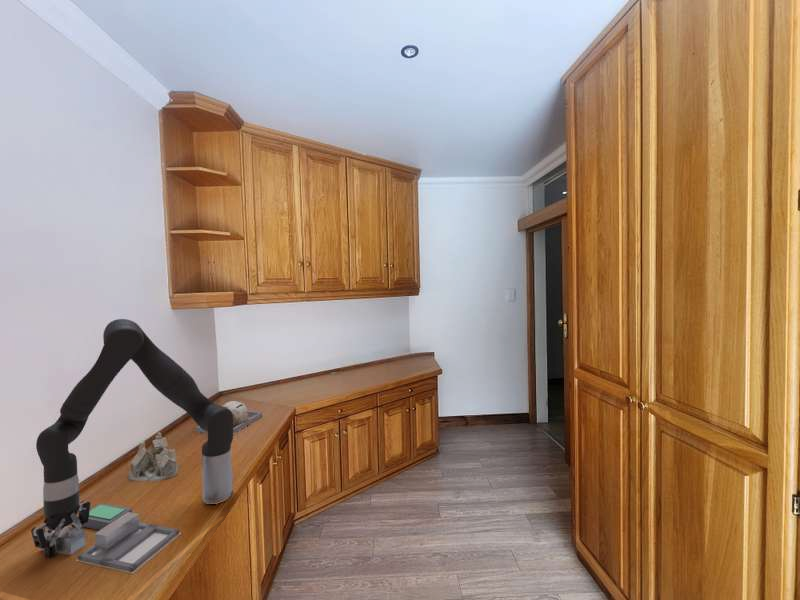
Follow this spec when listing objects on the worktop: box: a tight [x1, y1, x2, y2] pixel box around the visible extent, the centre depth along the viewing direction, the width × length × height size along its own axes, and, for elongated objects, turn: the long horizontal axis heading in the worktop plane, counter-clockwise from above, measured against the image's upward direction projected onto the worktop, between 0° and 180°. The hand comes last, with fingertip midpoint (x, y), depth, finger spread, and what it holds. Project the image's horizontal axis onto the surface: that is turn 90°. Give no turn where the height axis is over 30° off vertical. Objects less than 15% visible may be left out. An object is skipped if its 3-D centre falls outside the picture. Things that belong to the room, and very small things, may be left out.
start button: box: [89, 504, 125, 521], centre depth 118 cm, size 5×10×2 cm, turn 77°
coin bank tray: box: [195, 410, 263, 434], centre depth 201 cm, size 27×20×2 cm
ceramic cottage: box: [127, 432, 179, 482], centre depth 149 cm, size 16×16×15 cm
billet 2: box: [94, 512, 140, 557], centre depth 108 cm, size 10×4×6 cm, turn 167°
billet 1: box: [41, 526, 86, 556], centre depth 106 cm, size 4×10×6 cm, turn 80°
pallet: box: [75, 521, 182, 574], centre depth 107 cm, size 16×19×2 cm
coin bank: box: [222, 400, 249, 428], centre depth 200 cm, size 16×17×13 cm
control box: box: [82, 502, 133, 531], centre depth 118 cm, size 7×12×4 cm, turn 77°
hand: (63, 549), depth 106 cm, fingers open, 5 cm apart
